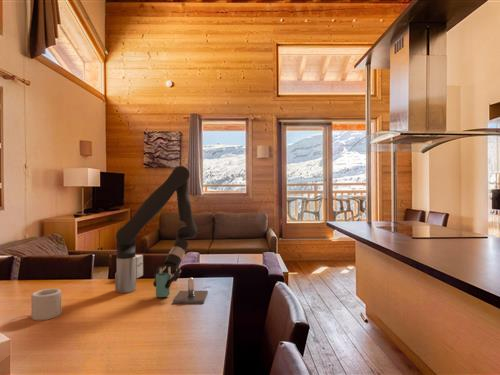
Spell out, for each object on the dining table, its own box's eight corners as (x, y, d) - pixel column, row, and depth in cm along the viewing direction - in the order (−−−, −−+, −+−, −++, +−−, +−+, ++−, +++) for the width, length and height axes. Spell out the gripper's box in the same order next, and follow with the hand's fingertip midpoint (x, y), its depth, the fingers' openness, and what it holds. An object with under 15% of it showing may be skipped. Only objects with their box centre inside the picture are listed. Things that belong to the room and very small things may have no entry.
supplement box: (137, 278, 194) (136, 257, 194) (125, 278, 196) (125, 256, 196) (143, 275, 201) (143, 254, 201) (132, 274, 203) (132, 254, 203)
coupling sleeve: (153, 296, 160) (153, 275, 160) (161, 292, 165) (161, 272, 165) (163, 297, 157) (163, 276, 157) (171, 293, 163) (171, 273, 163)
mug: (67, 312, 143) (67, 289, 143) (44, 322, 132) (44, 297, 132) (44, 309, 147) (43, 286, 147) (20, 318, 137) (19, 293, 137)
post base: (173, 303, 152) (172, 282, 152) (179, 293, 166) (179, 273, 166) (203, 303, 152) (203, 281, 152) (207, 293, 166) (207, 273, 166)
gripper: (160, 252, 171) (144, 281, 160) (184, 254, 166) (169, 284, 155) (166, 260, 176) (151, 289, 165) (189, 262, 170) (176, 292, 159)
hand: (160, 286), depth 160 cm, fingers closed on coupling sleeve, 6 cm apart
